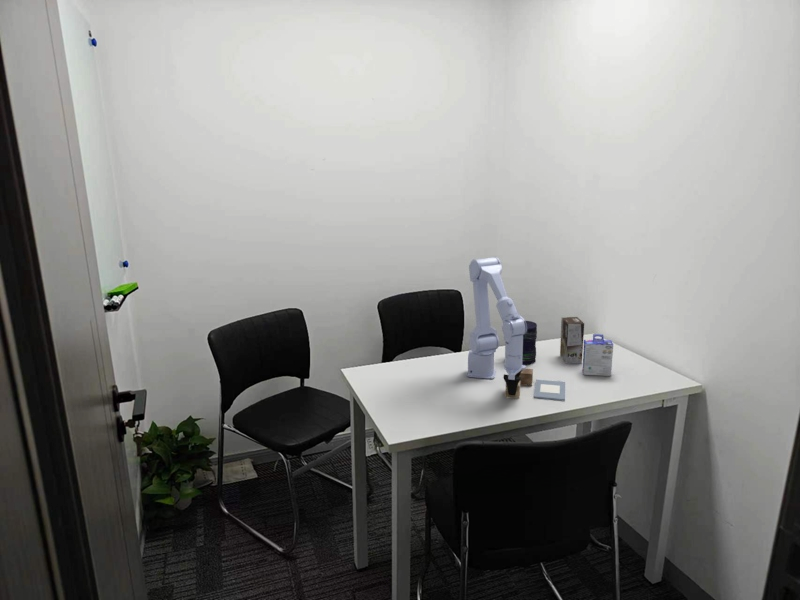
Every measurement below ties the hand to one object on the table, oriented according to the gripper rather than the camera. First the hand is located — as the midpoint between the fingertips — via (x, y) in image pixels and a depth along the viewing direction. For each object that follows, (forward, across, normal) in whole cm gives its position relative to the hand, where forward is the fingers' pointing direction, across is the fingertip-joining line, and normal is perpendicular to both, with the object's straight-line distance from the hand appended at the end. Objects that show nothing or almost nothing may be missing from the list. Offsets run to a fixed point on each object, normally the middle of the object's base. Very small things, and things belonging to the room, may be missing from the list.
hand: (512, 390), depth 182 cm
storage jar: (+2, +32, -1) cm, 32 cm away
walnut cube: (+2, +11, -4) cm, 12 cm away
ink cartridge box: (+2, +25, -28) cm, 38 cm away
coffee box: (+2, +37, -19) cm, 42 cm away
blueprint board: (+1, +6, -12) cm, 13 cm away
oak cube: (+2, 0, 0) cm, 2 cm away
